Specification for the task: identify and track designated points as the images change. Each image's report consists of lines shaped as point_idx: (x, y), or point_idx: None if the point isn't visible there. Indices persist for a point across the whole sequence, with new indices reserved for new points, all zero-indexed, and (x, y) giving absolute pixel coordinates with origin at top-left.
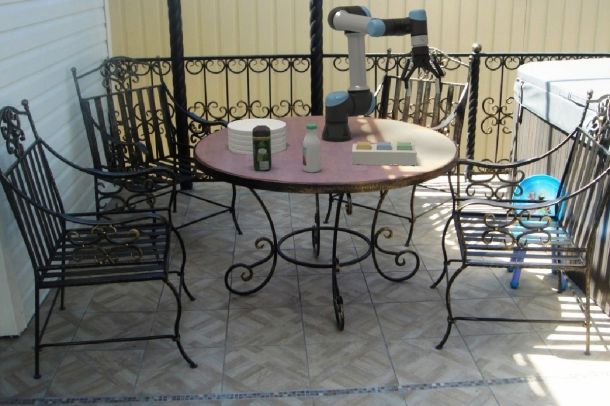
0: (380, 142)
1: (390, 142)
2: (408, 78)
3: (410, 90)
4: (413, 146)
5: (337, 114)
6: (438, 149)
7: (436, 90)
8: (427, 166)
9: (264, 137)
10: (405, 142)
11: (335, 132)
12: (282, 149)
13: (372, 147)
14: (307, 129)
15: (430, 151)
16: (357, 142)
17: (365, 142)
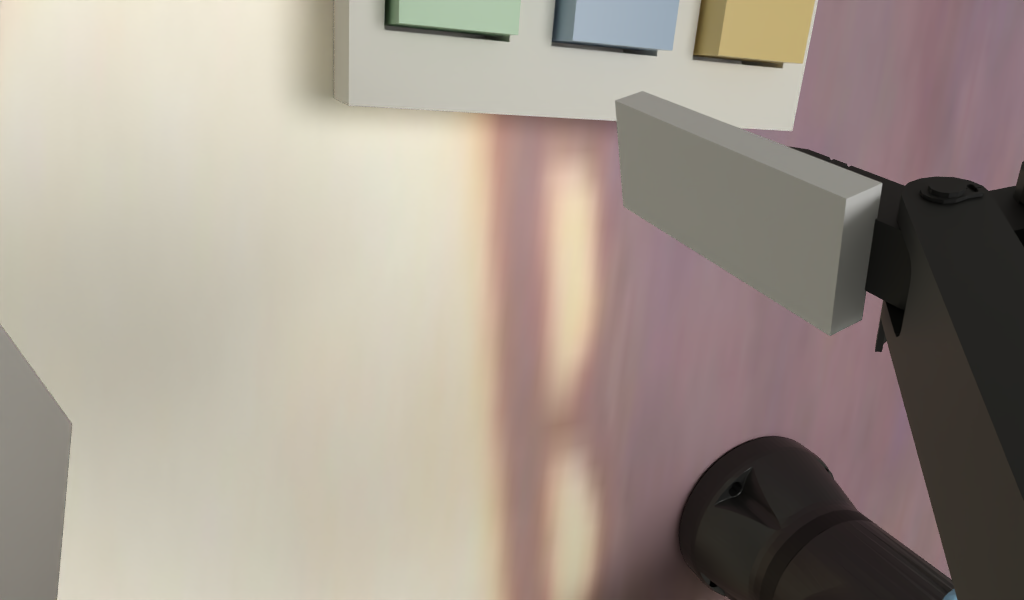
0: (652, 30)
1: (576, 28)
2: (950, 224)
3: (690, 130)
4: (364, 38)
5: (880, 552)
6: (112, 362)
7: (34, 419)
8: None
9: None
10: (449, 24)
11: (803, 473)
12: None
13: (690, 10)
14: None
15: (186, 293)
16: (806, 34)
17: (756, 32)
